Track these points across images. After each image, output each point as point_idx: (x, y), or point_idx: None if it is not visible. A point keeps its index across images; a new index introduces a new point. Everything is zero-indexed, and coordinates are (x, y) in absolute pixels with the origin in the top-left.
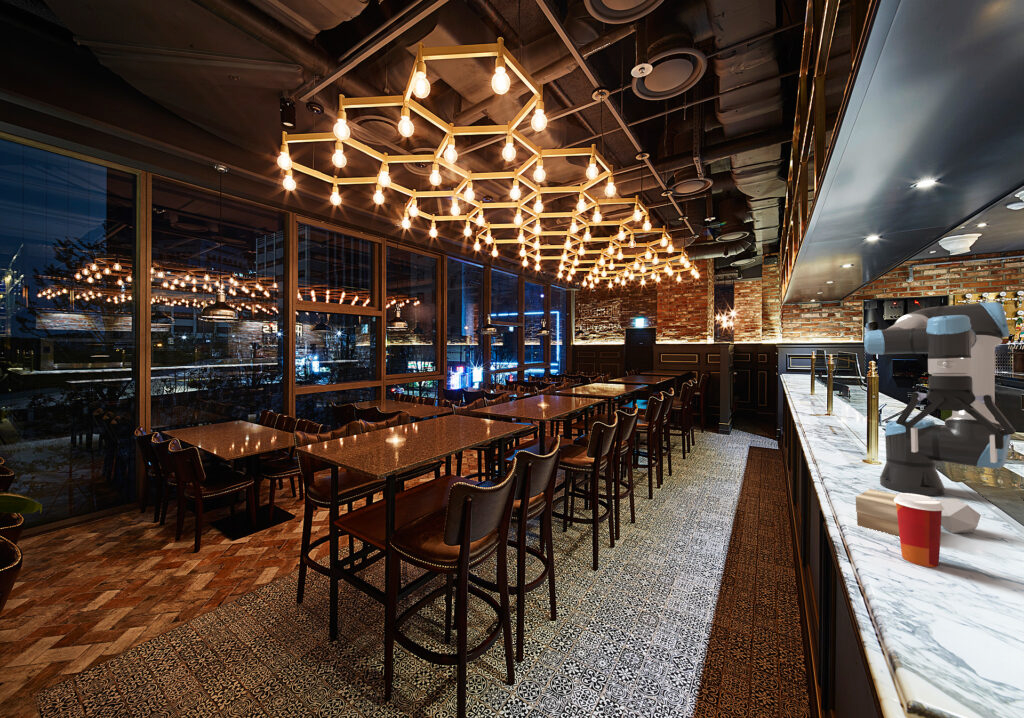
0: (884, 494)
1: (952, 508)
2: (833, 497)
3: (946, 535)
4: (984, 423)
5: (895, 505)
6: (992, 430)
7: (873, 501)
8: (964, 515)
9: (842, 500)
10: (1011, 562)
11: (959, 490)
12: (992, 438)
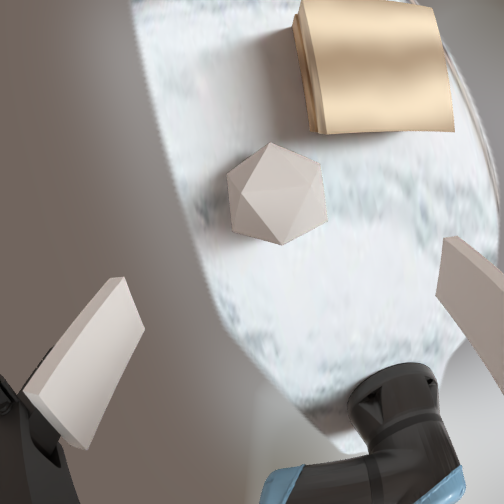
0: (413, 97)
1: (270, 167)
2: (490, 203)
3: (272, 127)
4: (17, 492)
5: (346, 1)
6: (10, 429)
7: (394, 2)
8: (245, 170)
9: (476, 196)
10: (152, 80)
11: (333, 434)
12: (38, 376)
